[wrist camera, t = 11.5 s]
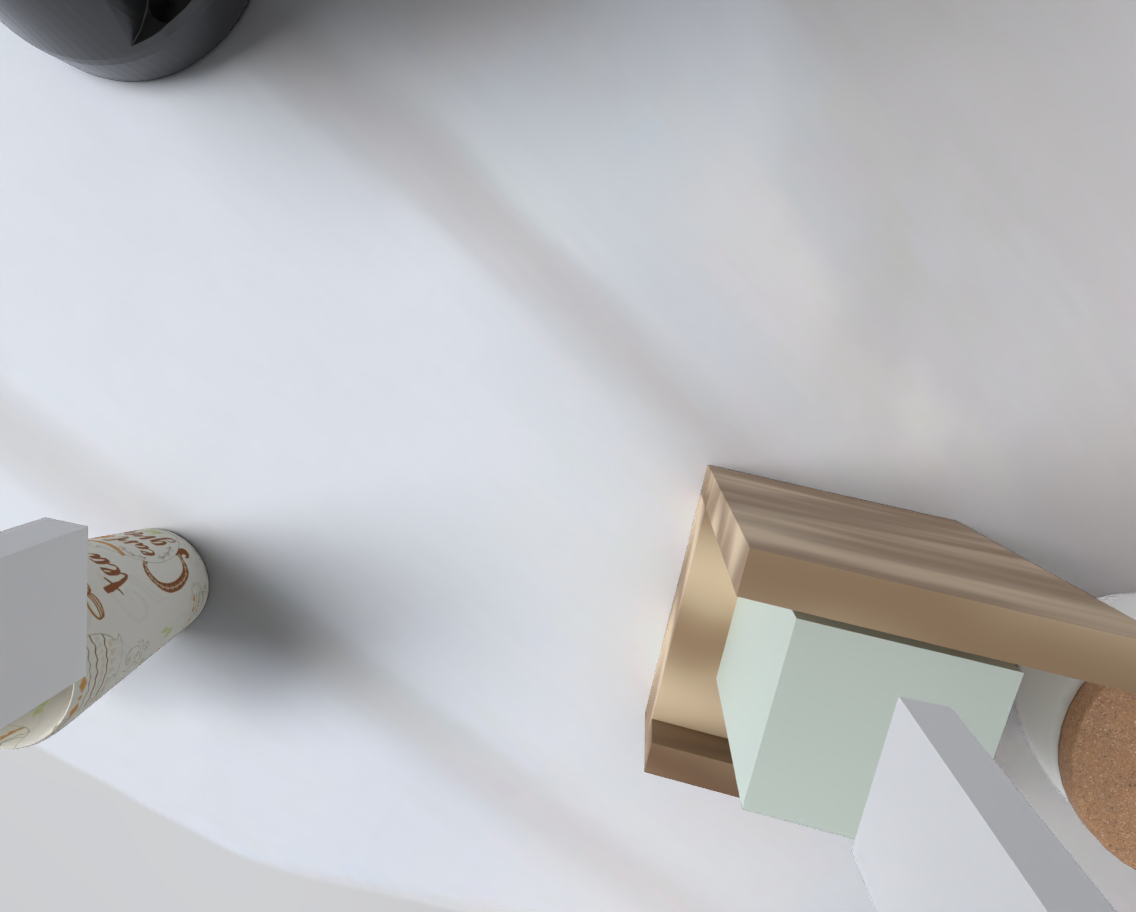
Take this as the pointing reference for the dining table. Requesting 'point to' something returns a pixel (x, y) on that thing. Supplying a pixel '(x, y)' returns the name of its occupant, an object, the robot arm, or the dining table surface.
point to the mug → (122, 620)
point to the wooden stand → (855, 602)
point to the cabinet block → (836, 707)
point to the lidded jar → (1087, 746)
